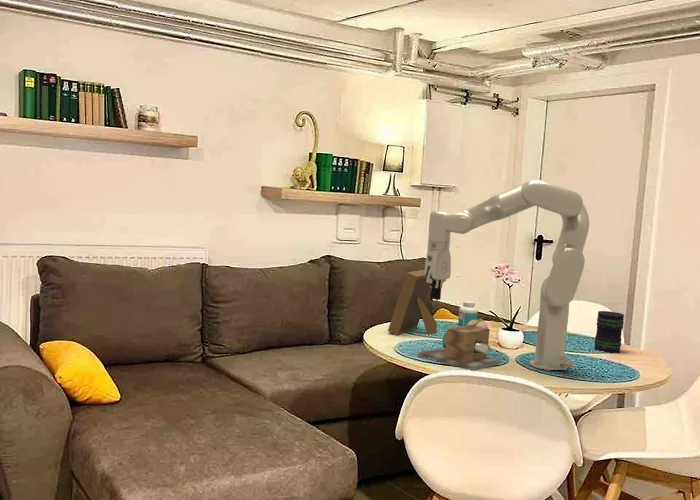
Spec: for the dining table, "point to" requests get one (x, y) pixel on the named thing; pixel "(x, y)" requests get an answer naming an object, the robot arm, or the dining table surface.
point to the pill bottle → (467, 313)
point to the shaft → (478, 346)
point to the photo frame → (412, 305)
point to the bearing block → (463, 348)
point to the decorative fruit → (478, 323)
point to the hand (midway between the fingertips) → (435, 298)
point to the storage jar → (609, 331)
